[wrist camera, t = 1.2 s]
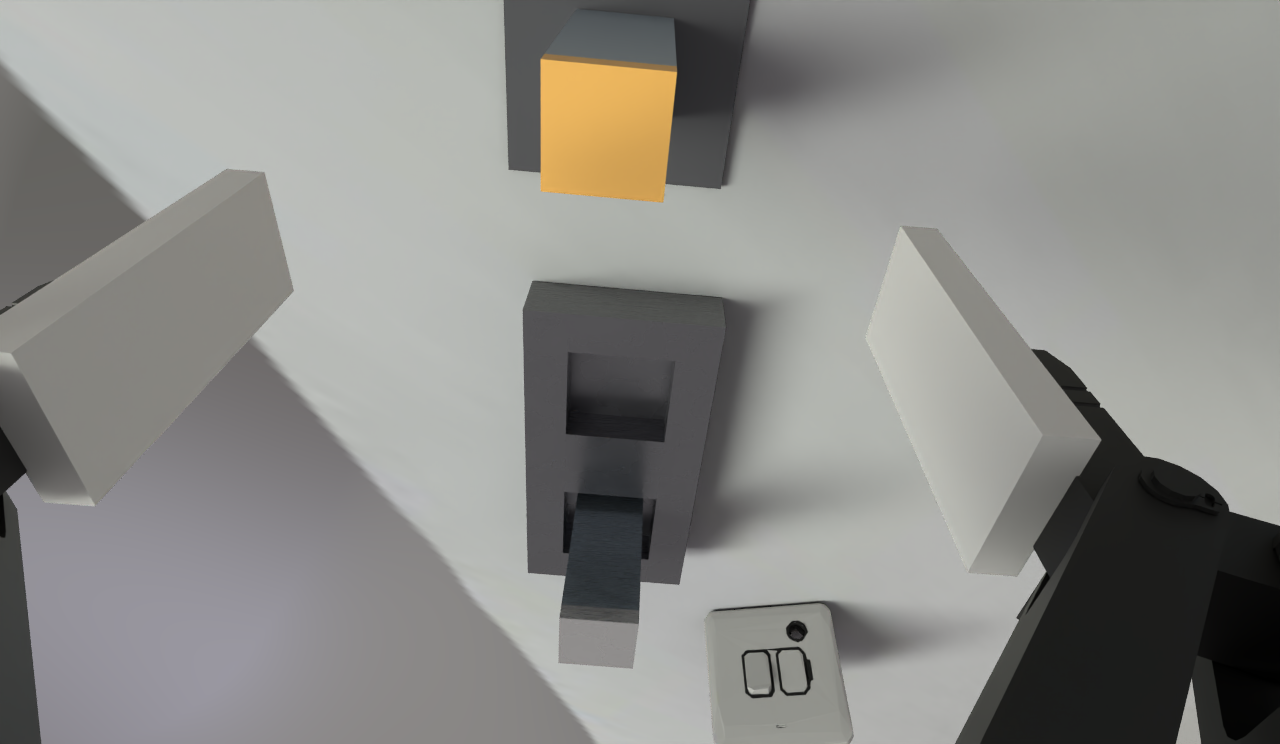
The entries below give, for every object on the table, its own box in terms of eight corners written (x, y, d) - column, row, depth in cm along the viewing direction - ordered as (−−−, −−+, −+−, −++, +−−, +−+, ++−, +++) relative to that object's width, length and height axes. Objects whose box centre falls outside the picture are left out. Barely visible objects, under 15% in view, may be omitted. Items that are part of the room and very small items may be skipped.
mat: (758, -62, 27) (759, -61, 27) (720, 185, 33) (720, 189, 32) (503, -87, 27) (501, -87, 26) (510, 166, 32) (508, 169, 32)
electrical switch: (829, 598, 51) (857, 730, 44) (828, 633, 54) (854, 761, 47) (702, 607, 52) (709, 738, 45) (709, 641, 55) (717, 768, 48)
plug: (673, 18, 28) (676, 72, 20) (663, 117, 31) (663, 202, 22) (576, 8, 28) (540, 59, 20) (574, 109, 30) (541, 191, 22)
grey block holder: (721, 297, 36) (740, 433, 27) (678, 548, 48) (681, 702, 39) (532, 281, 36) (488, 412, 27) (535, 537, 48) (504, 689, 39)
